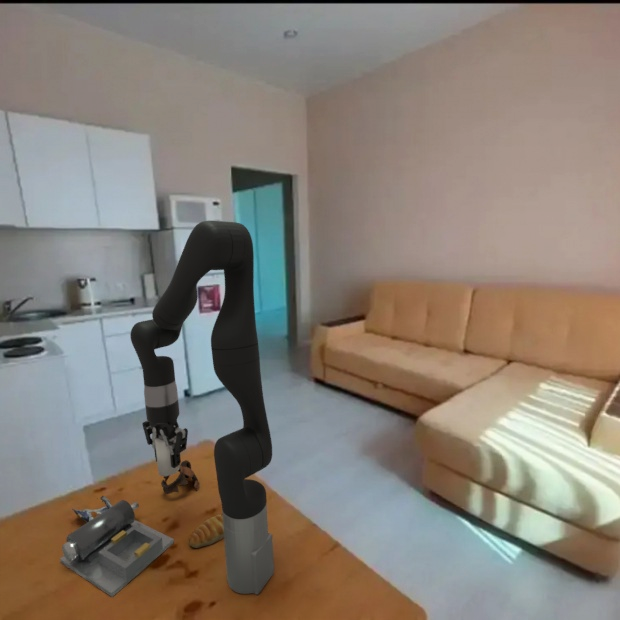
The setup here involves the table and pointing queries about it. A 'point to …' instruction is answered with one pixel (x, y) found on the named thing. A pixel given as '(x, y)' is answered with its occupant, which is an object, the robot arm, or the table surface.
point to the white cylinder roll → (164, 457)
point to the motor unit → (113, 548)
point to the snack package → (86, 513)
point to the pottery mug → (180, 478)
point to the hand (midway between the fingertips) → (168, 463)
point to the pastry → (207, 532)
